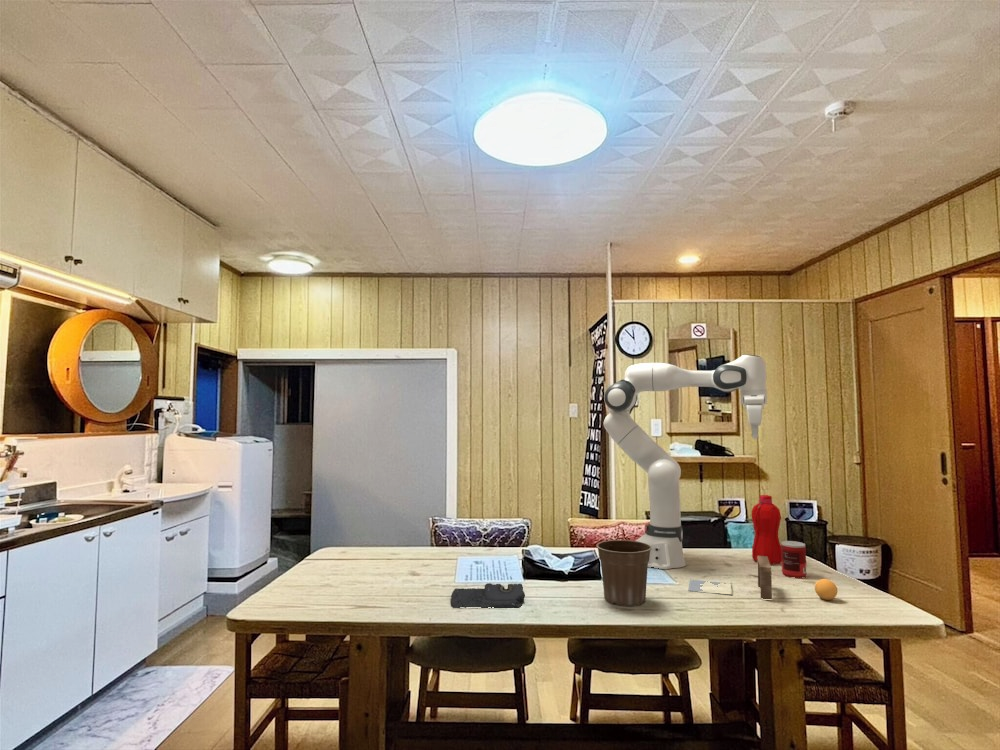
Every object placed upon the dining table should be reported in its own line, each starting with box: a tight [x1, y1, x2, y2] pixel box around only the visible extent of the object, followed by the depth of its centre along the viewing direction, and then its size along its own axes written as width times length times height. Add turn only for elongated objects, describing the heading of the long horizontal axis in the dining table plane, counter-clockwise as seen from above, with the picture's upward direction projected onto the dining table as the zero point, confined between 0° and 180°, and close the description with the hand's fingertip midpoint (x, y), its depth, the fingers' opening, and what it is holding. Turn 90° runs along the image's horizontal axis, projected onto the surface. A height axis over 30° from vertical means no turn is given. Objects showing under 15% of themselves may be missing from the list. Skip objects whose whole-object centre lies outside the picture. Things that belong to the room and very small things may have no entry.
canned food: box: [780, 540, 807, 579], centre depth 203 cm, size 8×8×11 cm
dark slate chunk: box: [450, 582, 526, 609], centre depth 175 cm, size 15×22×5 cm
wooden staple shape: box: [757, 556, 773, 600], centre depth 183 cm, size 3×15×10 cm, turn 159°
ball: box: [814, 578, 838, 601], centre depth 177 cm, size 6×6×6 cm
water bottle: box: [751, 494, 782, 566], centre depth 222 cm, size 9×11×25 cm
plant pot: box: [596, 539, 652, 607], centre depth 176 cm, size 16×16×16 cm
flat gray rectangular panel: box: [687, 579, 732, 592], centre depth 188 cm, size 13×13×1 cm
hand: (754, 438), depth 210 cm, fingers open, 8 cm apart
